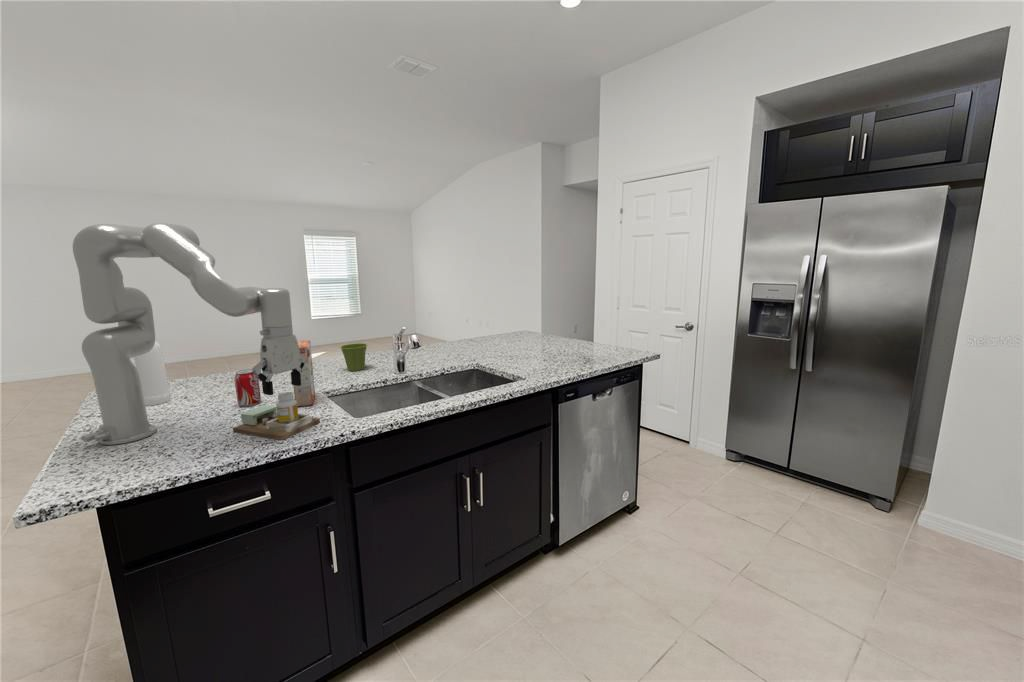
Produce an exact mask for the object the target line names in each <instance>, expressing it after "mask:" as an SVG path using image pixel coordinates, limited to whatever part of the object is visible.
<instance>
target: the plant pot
mask: <svg viewBox="0 0 1024 682" xmlns="http://www.w3.org/2000/svg"><path fill="white" fill-rule="evenodd" d="M367 346H368V344H367V343H363V342H362V343H361V342H358V343H357V342H356V343H349V344H344V345H341V346H339V348H340V349H341V352H342V354H343V357H344V361H345V364H346V368H347V370H348V371H351V372H360V371H361V370H364V369H365V368H366V352H367Z"/></svg>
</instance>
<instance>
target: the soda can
mask: <svg viewBox="0 0 1024 682" xmlns="http://www.w3.org/2000/svg"><path fill="white" fill-rule="evenodd" d="M234 385H235V392H236V393H235V394H236V400H237V403H238V405H239V406H241V407H253V406H256V405H258V403H260V402H261V399H262V398H261V388H260V380H259V379H258V378H257V377H256V376H255V374H254V373H253V371H252V368H248V369H242V370H238V371H236V372H235V375H234Z"/></svg>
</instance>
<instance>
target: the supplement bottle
mask: <svg viewBox="0 0 1024 682" xmlns="http://www.w3.org/2000/svg"><path fill="white" fill-rule="evenodd" d="M277 400H278V401H276V404H275V407H276V409H277V415H278V423H284V424H290V423H292V422H294V421H297V420H299V417H298V414H299V410H298V407H297V401H296V400H295V398H294V392H293V391H292V392H291V391H285V392H281V393H279V394H277Z"/></svg>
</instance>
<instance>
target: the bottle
mask: <svg viewBox="0 0 1024 682" xmlns="http://www.w3.org/2000/svg"><path fill="white" fill-rule="evenodd" d="M133 358H134V359H133V360H134V366H135V367H136V368H137V370H138V372H139V375H140V380H141V385H142V390H143V396H144V401H145V406H146V407H149V406H151V407H152V406H158V405H162V404H166V403H168V402H170V401H171V392H170V388H169V384H168V383H169V382H168V377H167V371H166V370H167V369H166V365H165V361H164V354H163V349H162V346H161V344H160V343H159V342H158V341H157V340H155V344H154V347H153V348H152V349H151V350H150V351H149V352H148V353H145V354H143V355H140V356H136V357H133Z"/></svg>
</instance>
